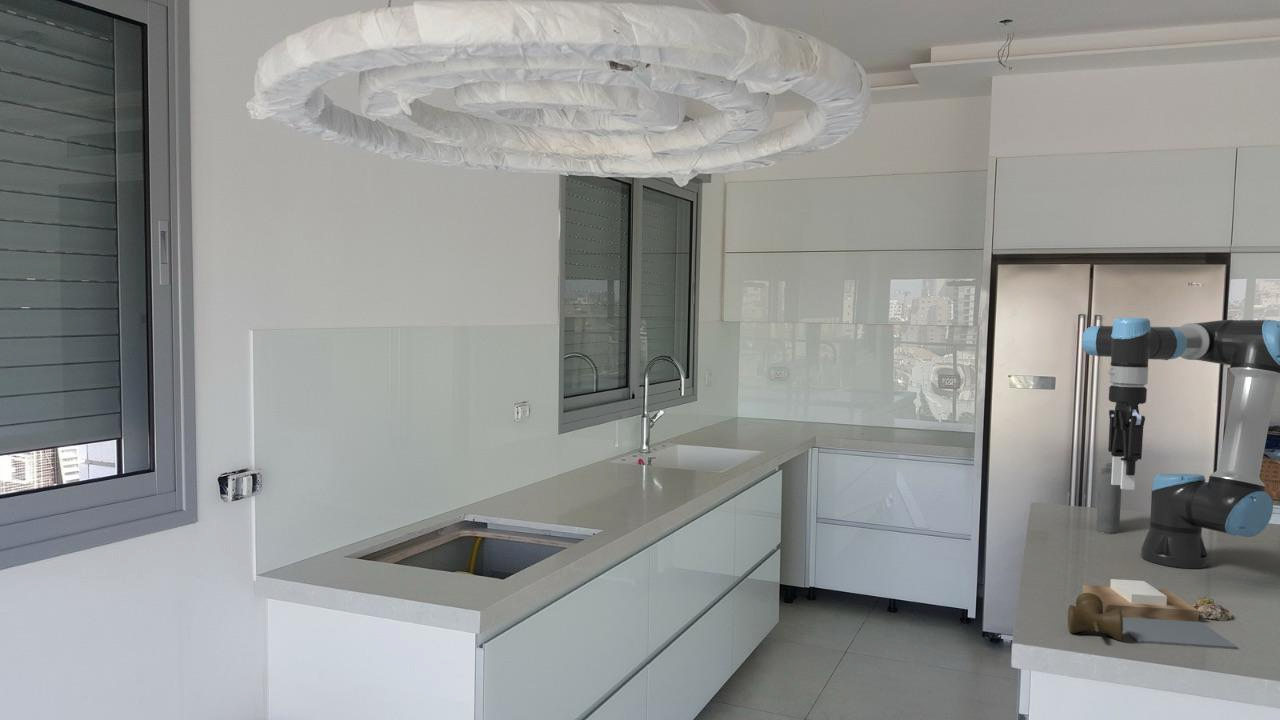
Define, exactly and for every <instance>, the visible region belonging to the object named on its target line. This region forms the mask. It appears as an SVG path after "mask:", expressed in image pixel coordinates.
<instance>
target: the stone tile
mask: <svg viewBox="0 0 1280 720" xmlns="http://www.w3.org/2000/svg"><path fill="white" fill-rule="evenodd" d="M1109 587H1110V588H1111V589H1113V590H1114V591H1115V592H1117V593H1118V594H1119V595H1121V596H1122V597H1123V598H1125V599H1126V600H1127V601H1129V602H1130V603H1132V604H1148V605H1164V606H1166V603H1167V596H1166V595H1164V594H1163V593H1161V592H1160V591H1158V590H1157V589H1158V588H1157V589H1156V588H1155V587H1153V586H1152V585H1151V584H1150V583H1147V582H1146V581H1145V580H1134V579H1133V580H1131V579H1118V578H1117V579H1115V578H1111V579H1110V584H1109Z"/></svg>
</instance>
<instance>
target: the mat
mask: <svg viewBox="0 0 1280 720" xmlns="http://www.w3.org/2000/svg"><path fill="white" fill-rule="evenodd" d="M1122 618H1123V632H1125V633H1126V632H1127V633H1126V634H1127V635H1129V636H1130V637H1131V638H1132V637H1133V638H1132V639H1134V641H1135V642H1137V643H1141V642H1147V644H1156V643H1162V644H1161V645H1171V644H1176V645H1175V646H1186V645H1191V646H1190V647H1201V646H1204V647H1205V648H1215V647H1217V649H1218V648H1219V649H1230V648H1231V649H1232V650H1237V649H1238V646H1237V645H1236V644H1234V643H1232V642H1231V641H1230V640H1228V639H1227V638H1225V637H1224V636H1222V635H1221V634H1219V633H1218V632H1216V631H1215V630H1214V629H1212V628H1211V627H1209V626H1207V625H1206V624H1204V623H1203V622H1201V621H1198V622H1192V621H1177V620H1161V619H1146V618H1130V617H1122ZM1231 649H1230V650H1231Z"/></svg>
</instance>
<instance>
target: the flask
mask: <svg viewBox="0 0 1280 720" xmlns="http://www.w3.org/2000/svg"><path fill="white" fill-rule="evenodd" d="M1111 477H1112V462H1107V463H1105V467H1103V468H1101V470H1100V473H1099V479H1098V499H1097V513H1096V514H1097V515H1096V516H1097V517H1096V531H1097V532H1098V531H1099V532H1098V533H1100V532H1104V533H1103V534H1105V533H1115V534H1116V533H1118V532H1119V530H1120V520H1121V505H1122V504H1121V503H1122V489H1121V485H1112V484H1111Z"/></svg>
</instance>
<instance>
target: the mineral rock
mask: <svg viewBox="0 0 1280 720" xmlns="http://www.w3.org/2000/svg"><path fill="white" fill-rule="evenodd" d="M1191 606H1193V607H1194V608H1196V609H1197V610H1199V617H1200V618H1203V619H1207V618H1209V620H1217V621H1219V622H1224V621H1225V620H1226V621H1229V620H1232V619H1233V617H1234V614H1233V613H1231V612H1230V611H1229V609H1227V608H1226V607H1223V606H1222V605H1220V604H1217V603H1216V602H1215V600H1214V599H1213V598H1209V597H1205V596H1202V597H1198V599H1197V600H1195V601H1194V604H1193V605H1191Z"/></svg>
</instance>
